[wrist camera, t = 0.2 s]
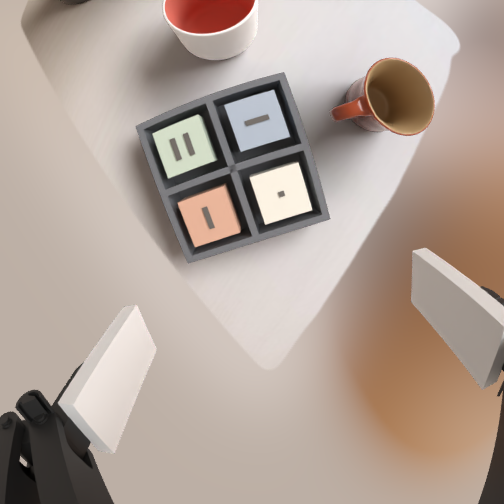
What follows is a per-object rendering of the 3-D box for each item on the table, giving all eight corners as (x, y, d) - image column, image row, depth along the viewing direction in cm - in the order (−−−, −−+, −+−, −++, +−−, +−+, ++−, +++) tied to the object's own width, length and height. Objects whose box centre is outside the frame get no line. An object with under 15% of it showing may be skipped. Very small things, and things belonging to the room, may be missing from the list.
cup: (228, 75, 32) (220, 51, 23) (168, 44, 30) (143, 17, 21) (271, 23, 29) (277, -12, 20) (211, -6, 27) (200, -42, 18)
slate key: (226, 109, 31) (224, 104, 28) (271, 95, 31) (273, 89, 27) (241, 151, 33) (240, 151, 30) (286, 137, 33) (290, 136, 29)
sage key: (161, 134, 32) (151, 133, 29) (203, 117, 32) (197, 114, 28) (175, 175, 34) (167, 178, 31) (218, 159, 34) (214, 161, 30)
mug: (381, 71, 31) (417, 53, 22) (403, 128, 34) (444, 126, 24) (304, 91, 33) (322, 72, 23) (329, 152, 36) (355, 154, 26)
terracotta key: (184, 197, 35) (177, 203, 32) (226, 182, 35) (223, 186, 31) (200, 238, 37) (194, 247, 34) (241, 224, 36) (240, 232, 33)
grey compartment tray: (150, 128, 34) (135, 126, 30) (280, 82, 32) (284, 72, 28) (195, 249, 40) (188, 263, 35) (320, 209, 38) (330, 219, 33)
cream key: (249, 174, 34) (249, 177, 31) (294, 161, 34) (298, 162, 30) (264, 217, 36) (265, 225, 33) (307, 204, 35) (312, 210, 32)
